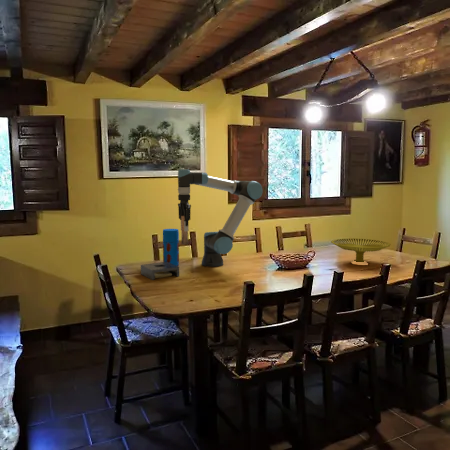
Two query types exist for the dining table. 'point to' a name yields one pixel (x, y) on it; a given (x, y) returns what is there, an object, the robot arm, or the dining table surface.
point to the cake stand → (360, 247)
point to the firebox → (159, 270)
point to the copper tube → (184, 232)
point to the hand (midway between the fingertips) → (184, 230)
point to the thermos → (171, 246)
